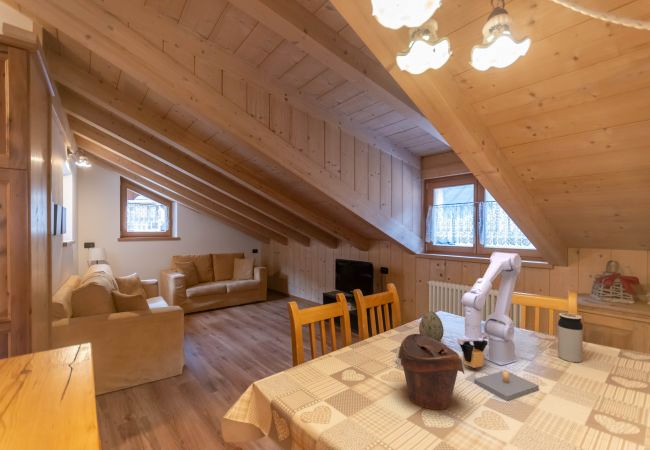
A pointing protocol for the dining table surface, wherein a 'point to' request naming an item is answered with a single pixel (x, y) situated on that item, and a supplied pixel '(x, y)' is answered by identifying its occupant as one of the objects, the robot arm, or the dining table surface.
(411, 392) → the brown tapered pot
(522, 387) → the plate
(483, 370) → the dining table surface
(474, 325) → the robot arm
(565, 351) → the travel mug
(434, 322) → the decorative egg
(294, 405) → the dining table surface
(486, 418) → the dining table surface
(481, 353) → the light orange cube
